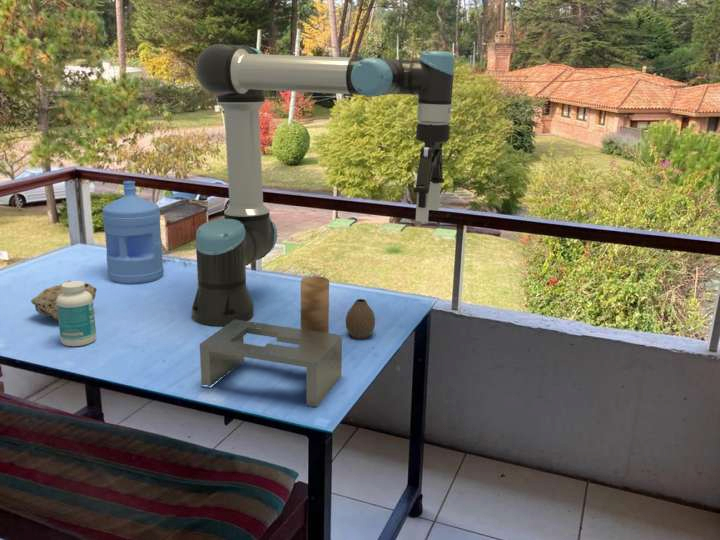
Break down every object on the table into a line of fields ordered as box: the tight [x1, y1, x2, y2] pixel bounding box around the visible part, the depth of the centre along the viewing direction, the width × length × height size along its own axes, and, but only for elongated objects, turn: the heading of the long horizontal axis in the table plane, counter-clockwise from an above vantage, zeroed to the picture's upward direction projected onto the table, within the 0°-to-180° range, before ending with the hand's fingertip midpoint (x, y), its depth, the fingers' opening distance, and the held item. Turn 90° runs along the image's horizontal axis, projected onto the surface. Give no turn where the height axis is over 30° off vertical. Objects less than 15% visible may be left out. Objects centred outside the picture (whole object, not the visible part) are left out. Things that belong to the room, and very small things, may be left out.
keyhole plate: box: [199, 319, 343, 408], centre depth 132 cm, size 24×14×9 cm, turn 72°
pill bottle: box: [56, 280, 97, 347], centre depth 148 cm, size 8×7×14 cm
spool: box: [300, 275, 330, 333], centre depth 143 cm, size 6×6×17 cm
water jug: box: [101, 180, 165, 285], centre depth 191 cm, size 16×16×28 cm
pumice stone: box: [30, 280, 97, 321], centre depth 163 cm, size 14×12×8 cm
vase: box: [345, 298, 376, 340], centre depth 156 cm, size 7×7×9 cm
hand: (427, 215), depth 157 cm, fingers open, 13 cm apart
